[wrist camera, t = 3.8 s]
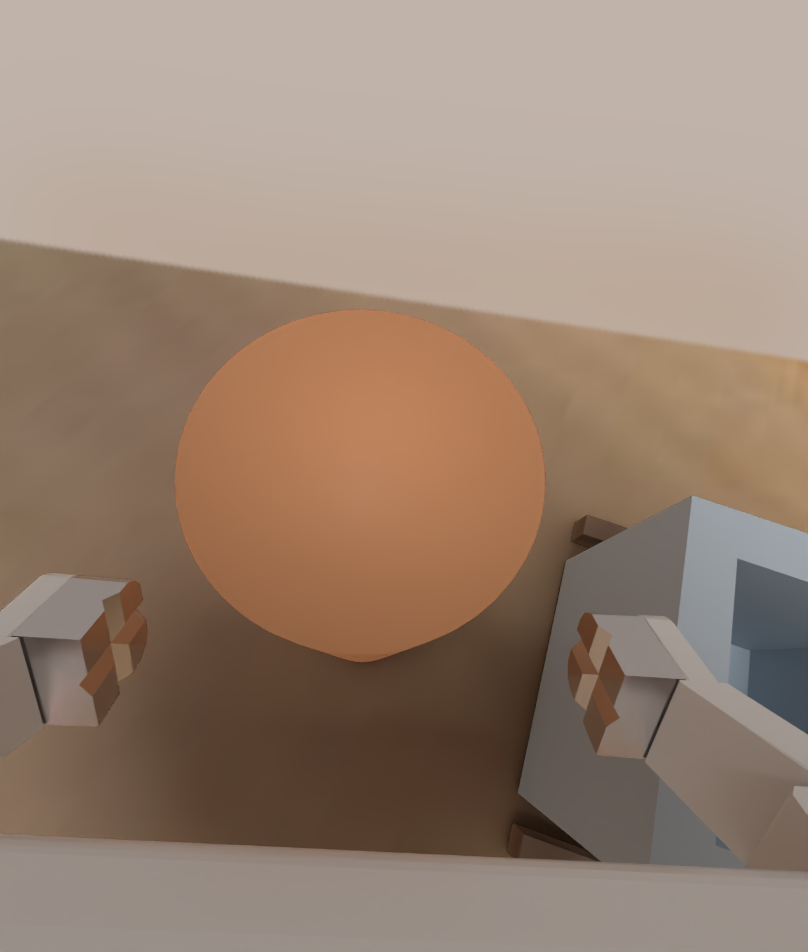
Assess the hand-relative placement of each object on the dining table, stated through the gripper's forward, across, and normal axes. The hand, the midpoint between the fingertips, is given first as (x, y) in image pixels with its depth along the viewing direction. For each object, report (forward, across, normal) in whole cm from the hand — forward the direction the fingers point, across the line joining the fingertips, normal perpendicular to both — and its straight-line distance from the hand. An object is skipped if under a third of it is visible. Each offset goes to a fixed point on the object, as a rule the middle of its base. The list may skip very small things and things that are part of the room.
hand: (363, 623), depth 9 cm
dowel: (+8, 0, +6) cm, 9 cm away
